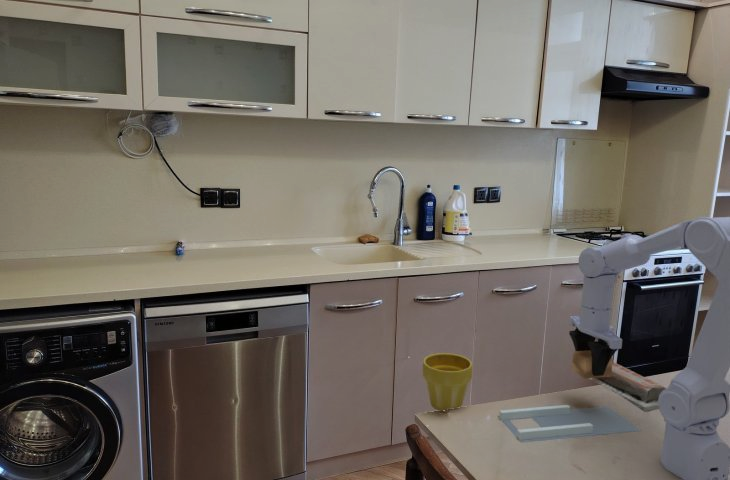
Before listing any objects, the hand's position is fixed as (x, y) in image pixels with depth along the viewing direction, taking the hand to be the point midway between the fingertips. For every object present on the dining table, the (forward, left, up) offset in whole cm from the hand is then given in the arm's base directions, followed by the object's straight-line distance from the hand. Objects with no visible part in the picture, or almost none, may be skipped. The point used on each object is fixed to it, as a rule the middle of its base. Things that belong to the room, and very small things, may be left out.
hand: (590, 369), depth 111 cm
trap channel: (-5, +8, -9) cm, 13 cm away
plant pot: (+8, +28, -10) cm, 31 cm away
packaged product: (+8, -15, -10) cm, 20 cm away
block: (0, 0, -1) cm, 1 cm away
